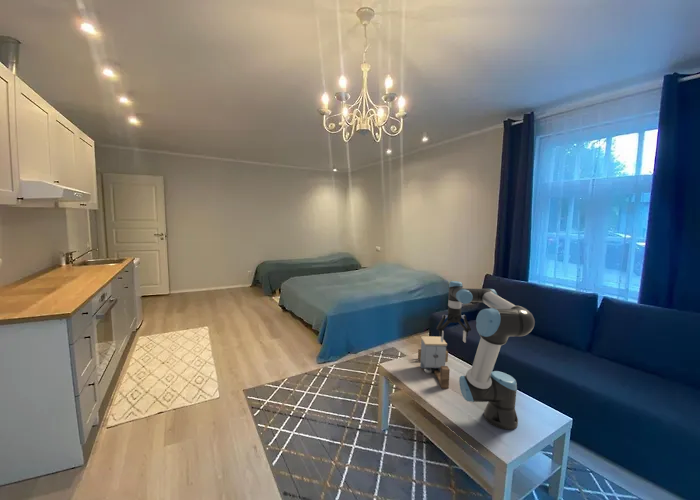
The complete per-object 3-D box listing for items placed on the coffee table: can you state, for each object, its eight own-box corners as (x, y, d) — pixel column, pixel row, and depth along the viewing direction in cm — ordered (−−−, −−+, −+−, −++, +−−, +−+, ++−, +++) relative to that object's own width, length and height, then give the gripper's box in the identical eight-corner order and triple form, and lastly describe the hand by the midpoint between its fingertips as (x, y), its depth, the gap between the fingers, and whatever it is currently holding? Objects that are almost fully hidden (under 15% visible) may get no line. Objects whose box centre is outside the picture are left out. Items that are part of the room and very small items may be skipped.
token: (432, 373, 191) (432, 371, 191) (425, 373, 191) (425, 371, 191) (430, 369, 196) (430, 367, 196) (423, 369, 196) (423, 367, 196)
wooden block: (448, 388, 174) (449, 369, 173) (441, 388, 174) (442, 369, 173) (439, 373, 191) (440, 355, 190) (433, 373, 191) (434, 355, 190)
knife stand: (447, 361, 207) (448, 352, 207) (419, 361, 207) (419, 351, 206) (445, 358, 211) (446, 349, 210) (417, 358, 211) (418, 349, 210)
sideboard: (445, 376, 188) (447, 344, 186) (424, 376, 188) (425, 344, 186) (439, 366, 201) (441, 336, 198) (419, 365, 201) (420, 336, 198)
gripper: (472, 305, 180) (471, 339, 182) (432, 305, 180) (430, 338, 182) (478, 309, 173) (476, 344, 175) (435, 308, 173) (434, 343, 175)
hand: (453, 341), depth 178 cm, fingers open, 13 cm apart
